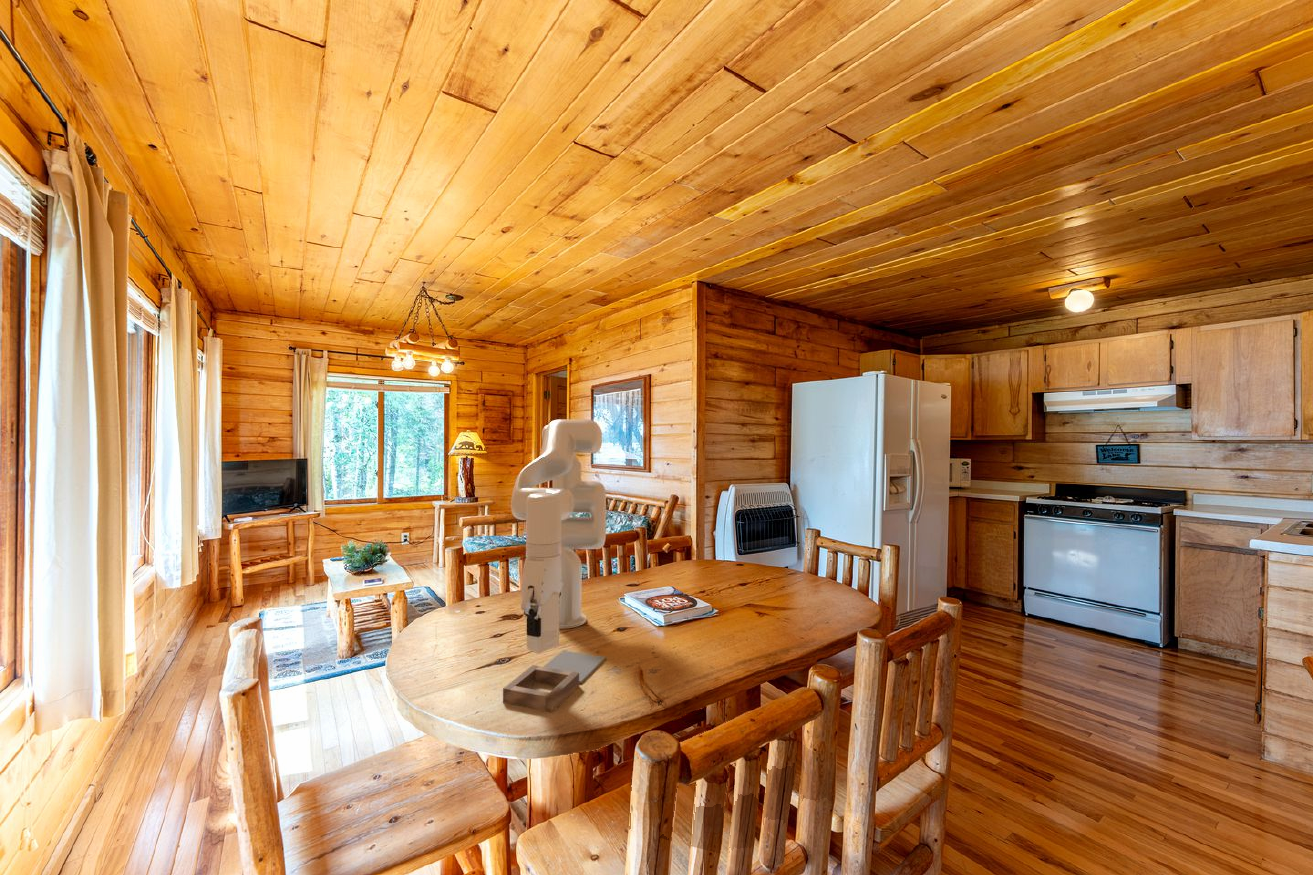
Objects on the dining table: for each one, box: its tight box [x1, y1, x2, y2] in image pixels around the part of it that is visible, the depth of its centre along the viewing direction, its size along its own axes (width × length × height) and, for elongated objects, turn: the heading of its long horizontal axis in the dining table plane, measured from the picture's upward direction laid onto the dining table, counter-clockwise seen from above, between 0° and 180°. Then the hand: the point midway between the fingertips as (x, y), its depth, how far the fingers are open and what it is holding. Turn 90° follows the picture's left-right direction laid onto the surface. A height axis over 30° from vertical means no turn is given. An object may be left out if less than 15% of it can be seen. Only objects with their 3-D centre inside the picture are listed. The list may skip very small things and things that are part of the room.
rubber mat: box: [542, 649, 607, 685], centre depth 133 cm, size 12×14×1 cm
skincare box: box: [526, 592, 560, 654], centre depth 119 cm, size 6×4×12 cm
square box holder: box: [502, 664, 580, 713], centre depth 119 cm, size 12×12×3 cm
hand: (543, 628), depth 119 cm, fingers closed on skincare box, 7 cm apart
